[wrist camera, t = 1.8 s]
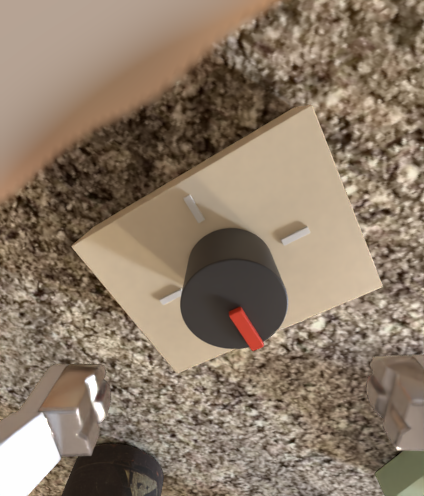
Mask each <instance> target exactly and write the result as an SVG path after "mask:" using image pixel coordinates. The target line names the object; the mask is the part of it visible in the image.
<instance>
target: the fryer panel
mask: <svg viewBox="0 0 424 496" xmlns="http://www.w3.org/2000/svg"><path fill="white" fill-rule="evenodd" d="M225 228H238V229H243V230H246V231H249V232H251V233H253V234H255V235H257V236H258V237H259V238H261V239H262V240H263V241H264V242H265V243H266V245H267V246H268V248H269V249H270V252H271V254H272V256H273V259H274V261H275V264H276V266H277V269H278V271H279V274H280V276H281V278H282V281H283V283H284V286H285V288H286V291H287V295H288V310H287V314H286V317H285V319H284V321H283V323H282V325H281V326H280V328H279V329H278V330H277V331H279V330H282V329H284V328H286V327H289V326H291V325H294V324H296V323H298V322H301V321H303V320H305V319H308V318H310V317H312V316H315V315H317V314H320V313H322V312H324V311H327V310H329V309H331V308H334V307H336V306H339V305H341V304H343V303H346V302H348V301H350V300H353V299H355V298H357V297H360V296H362V295H365V294H367V293H369V292H372V291H374V290H376V289H379V288H381V287H383V285H382V283H381V280H380V278H379V275H378V273H377V270H376V268H375V265H374V262H373V260H372V257H371V255H370V252H369V250H368V247H367V244H366V242H365V239H364V237H363V234H362V232H361V229H360V227H359V224H358V221H357V219H356V216H355V214H354V211H353V209H352V206H351V204H350V201H349V198H348V196H347V193H346V191H345V188H344V186H343V183H342V180H341V178H340V175H339V173H338V170H337V168H336V165H335V163H334V160H333V157H332V155H331V152H330V150H329V147H328V145H327V142H326V140H325V137H324V134H323V132H322V129H321V127H320V124H319V122H318V119H317V116H316V114H315V111H314V109H313V106H312V105H307V106H301V107H295V108H292V109H291V110H289V111H287V112H286V113H284V114H282V115H281V116H279V117H277V118H276V119H274V120H272V121H270V122H269V123H267V124H265V125H264V126H262V127H260V128H259V129H257V130H255V131H254V132H252V133H250V134H249V135H247V136H245V137H244V138H242V139H240V140H239V141H237V142H235V143H234V144H232V145H230V146H228V147H227V148H225V149H223V150H222V151H220V152H218V153H217V154H215V155H213V156H212V157H210V158H208V159H207V160H205V161H203V162H202V163H200V164H198V165H197V166H195V167H193V168H192V169H190V170H188V171H186V172H185V173H183V174H181V175H180V176H178V177H176V178H175V179H173V180H171V181H170V182H168V183H166V184H165V185H163V186H161V187H160V188H158V189H156V190H155V191H153V192H151V193H150V194H148V195H146V196H145V197H143V198H141V199H139V200H138V201H136V202H134V203H133V204H131V205H129V206H128V207H126V208H124V209H123V210H121V211H119V212H118V213H116V214H114V215H113V216H111V217H109V218H108V219H106V220H104V221H103V222H101V223H99V224H97V225H96V226H94V227H93V228H92V229H91V230H89V231H88V232H87V233H86V234H85V235H84V236H82V237H81V238H80V239H79V240H78V241H77V242H75V243H74V244H73V245H72V246H71V247H72V248H73V249H74V250H75V252H76V253H77V254H78V255H79V256H80V258H81V259H82V260H83V261H84V263H85V264H86V265H87V266H88V267H89V269H90V270H91V271H92V272H93V273H94V275H95V276H96V277H97V278H98V279H99V281H100V282H101V283H102V284H103V285H104V287H105V288H106V289H107V290H108V291H109V293H110V294H111V295H112V296H113V297H114V299H115V300H116V301H117V302H118V303H119V305H120V306H121V307H122V308H123V309H124V311H125V312H126V313H127V314H128V315H129V317H130V318H131V319H132V320H133V321H134V323H135V324H136V325H137V326H138V328H139V329H140V330H141V331H142V332H143V334H144V335H145V336H146V337H147V338H148V340H149V341H150V342H151V343H152V344H153V346H154V347H155V348H156V349H157V350H158V352H159V353H160V354H161V355H162V356H163V358H164V359H165V360H166V361H167V362H168V364H169V365H170V366H171V367H172V368H173V370H174V371H175V372H176V373H180V372H182V371H184V370H187V369H189V368H192V367H194V366H196V365H199V364H201V363H203V362H206V361H208V360H211V359H213V358H215V357H218V356H220V355H222V354H225V353H227V352H230V351H232V350H234V349H225V348H220V347H216V346H213V345H210V344H208V343H206V342H204V341H202V340H200V339H199V338H198V337H196V336H195V335H194V334H193V333H192V332H191V331H190V330H189V329H188V327H187V325H186V324H185V322H184V320H183V318H182V314H181V310H180V299H181V293H182V289H183V284H184V279H185V274H186V269H187V265H188V260H189V256H190V253H191V251H192V249H193V248H194V246H195V245H196V244H197V242H198V241H199V240H200V239H202V238H203V237H204V236H206V235H207V234H209V233H211V232H213V231H216V230H219V229H225ZM277 331H276V332H277Z"/></svg>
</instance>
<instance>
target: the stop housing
mask: <svg viewBox="0 0 424 496" xmlns="http://www.w3.org/2000/svg"><path fill="white" fill-rule="evenodd" d="M375 475H376V478H377V480H378V482H379V484H380V487H381V489H382V491H383V493H384V495H385V496H424V451H402V452H401V453H400V454H399V455H397V456H396V457H395V458H394V459H392V460H391V461H390V462H389V463H387V464H386V465H385V466H383V467H382V468H381V469H380V470H378V471H377V472H376V473H375Z"/></svg>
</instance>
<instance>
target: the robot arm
mask: <svg viewBox="0 0 424 496" xmlns="http://www.w3.org/2000/svg"><path fill="white" fill-rule="evenodd" d="M370 367H371V369H372V371H373V373H372V374H371V375H370V376H369V377H367V383H366V390H367V396H368V399H369V402H370V404H371V406H372V408H373V410H374V412H375V413H377V414H378V415H379V416H381V417H382V418H383V419H384V421H383V428H384V430H385V432H386V434H387V435H388V437H389V439H390V441H391V443H392V444H393V446H394V448H395V450H396V451H424V355H399V356H374V357H373V359H372V360H371V364H370ZM105 375H106V370H105V367H104V365H103V364H53V365H52V366H50V367H49V368H48V369H47V371H46V372H45V374H44V375H43V376H42V378H41V379H40V381H39V382H38V384H37V385H36V387H35V388H34V389H33V391H32V392H31V394H30V395H29V397H28V398H27V400H26V401H25V402H24V404H23V405H22V407H21V408H20V410H19V411H18V412H14V413H11V414H10V415H8V416H7V417H5V418H4V419H2V420H1V421H0V496H28V494H29V493H30V492H31V491H32V490H33V489H34V488H35V487H36V486H37V485H38V484H39V483H40V481H41V480H42V479H43V478H44V477H45V476H46V475H47V474H48V473H49V472H50V471H51V470H52V468H53V467H54V466H55V465H56V464H57V463H58V462H59V461H60V460H61V457H74V456H91V455H92V453H93V450H94V448H95V445H96V442H97V440H98V437H99V434H100V429H99V425H98V424H99V423H100V422H101V421H102V420H104V419H105V418H106V416H107V413H108V410H109V407H110V400H111V389H110V385H109V383H108V382H107V381H105V380H104V378H105Z"/></svg>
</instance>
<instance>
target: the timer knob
mask: <svg viewBox="0 0 424 496" xmlns="http://www.w3.org/2000/svg"><path fill="white" fill-rule="evenodd" d="M180 310H181V314H182V318H183V320H184V322H185V324H186V325H187V327H188V329H189V330H190V331H191V332H192V333H193V334H194V335H195V336H196V337H198V338H199V339H200V340H202V341H204V342H206V343H208V344H210V345H213V346H216V347H220V348H225V349H241V348H247V347H250V348H251V350H252V351H254V350H257V349H259V348H261V347H264V344H263V341H265V340H266V339H268V338H269V337H271V336H272V335H273V334H274V333H275V332H276V331H277V330H278V329H279V328H280V326H281V325H282V323H283V321H284V319H285V317H286V314H287V310H288V295H287V291H286V288H285V286H284V283H283V281H282V278H281V276H280V274H279V271H278V269H277V266H276V264H275V261H274V259H273V256H272V254H271V252H270V249H269V248H268V246H267V245H266V243H265V242H264V241H263V240H262V239H261V238H259V237H258V236H257V235H255V234H253V233H251V232H249V231H246V230H243V229H238V228H225V229H219V230H216V231H213V232H211V233H209V234H207V235H206V236H204V237H203V238H202V239H200V240H199V241H198V242H197V244H196V245H195V246H194V248H193V249H192V251H191V253H190V256H189V260H188V265H187V269H186V274H185V279H184V284H183V289H182V293H181V299H180Z"/></svg>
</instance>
